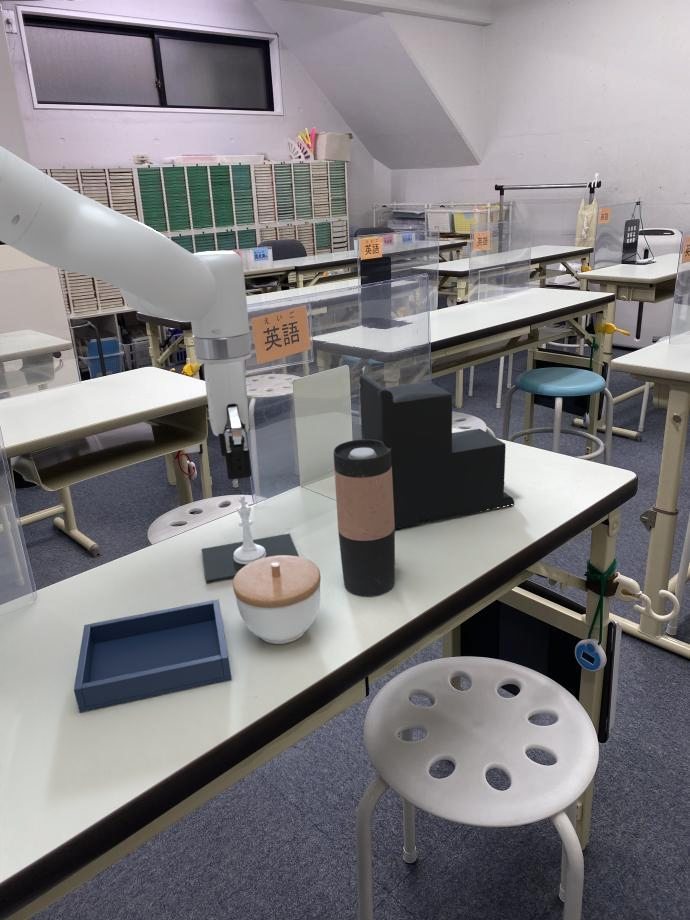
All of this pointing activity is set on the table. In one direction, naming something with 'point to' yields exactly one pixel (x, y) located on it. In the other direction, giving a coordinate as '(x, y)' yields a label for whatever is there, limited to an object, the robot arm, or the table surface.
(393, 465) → the bookend
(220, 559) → the mat
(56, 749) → the table surface
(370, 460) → the travel mug
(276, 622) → the trinket box
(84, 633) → the tray
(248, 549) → the chess piece
